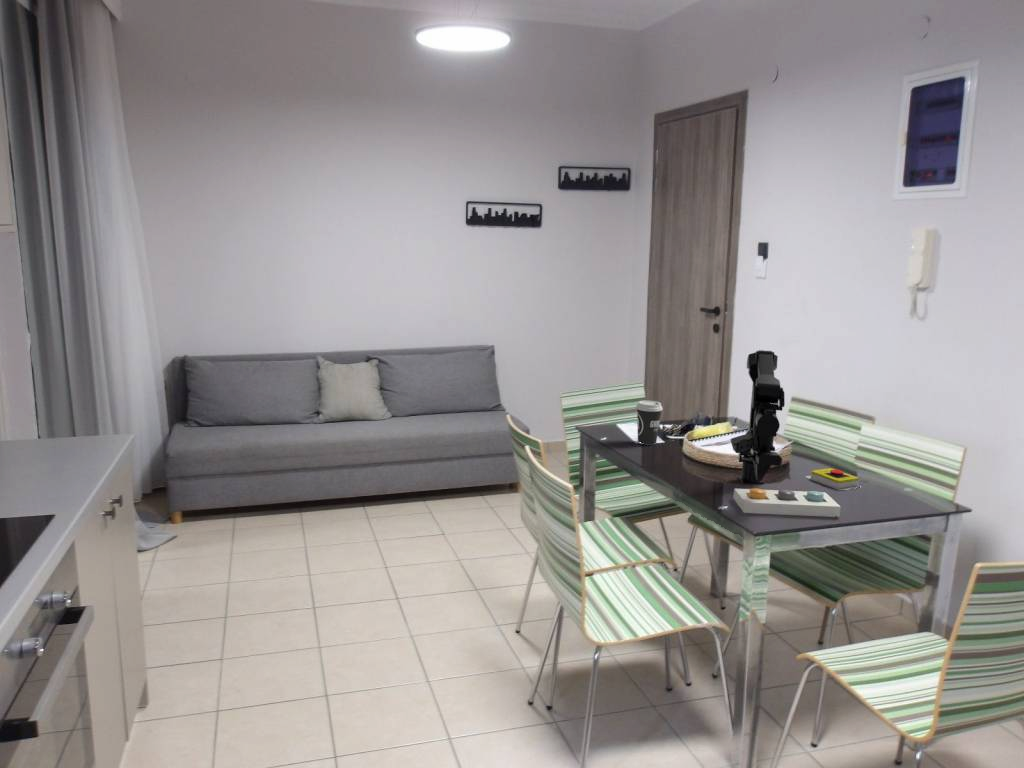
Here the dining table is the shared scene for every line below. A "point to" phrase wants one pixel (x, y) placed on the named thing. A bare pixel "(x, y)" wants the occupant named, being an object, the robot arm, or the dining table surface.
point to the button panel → (786, 504)
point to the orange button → (757, 494)
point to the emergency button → (834, 478)
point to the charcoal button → (786, 495)
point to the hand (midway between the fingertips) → (758, 480)
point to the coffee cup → (648, 421)
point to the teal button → (815, 496)
